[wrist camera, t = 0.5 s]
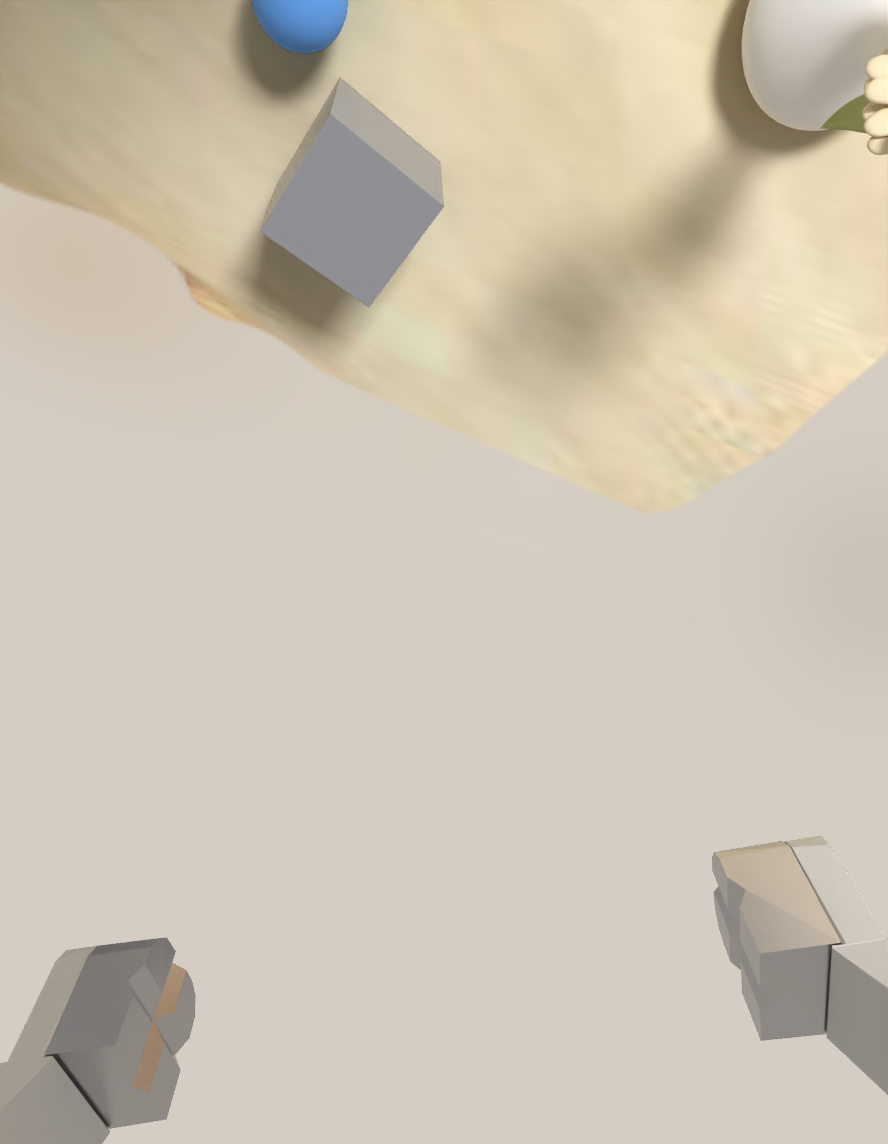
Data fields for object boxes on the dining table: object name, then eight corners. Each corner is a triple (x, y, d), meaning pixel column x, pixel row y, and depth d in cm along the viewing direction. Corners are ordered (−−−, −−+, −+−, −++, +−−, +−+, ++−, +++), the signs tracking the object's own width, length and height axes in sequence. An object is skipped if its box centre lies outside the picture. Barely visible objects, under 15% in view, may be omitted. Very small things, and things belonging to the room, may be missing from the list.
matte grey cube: (340, 77, 45) (330, 113, 39) (440, 161, 48) (444, 206, 42) (277, 184, 48) (260, 231, 43) (373, 255, 52) (368, 307, 46)
